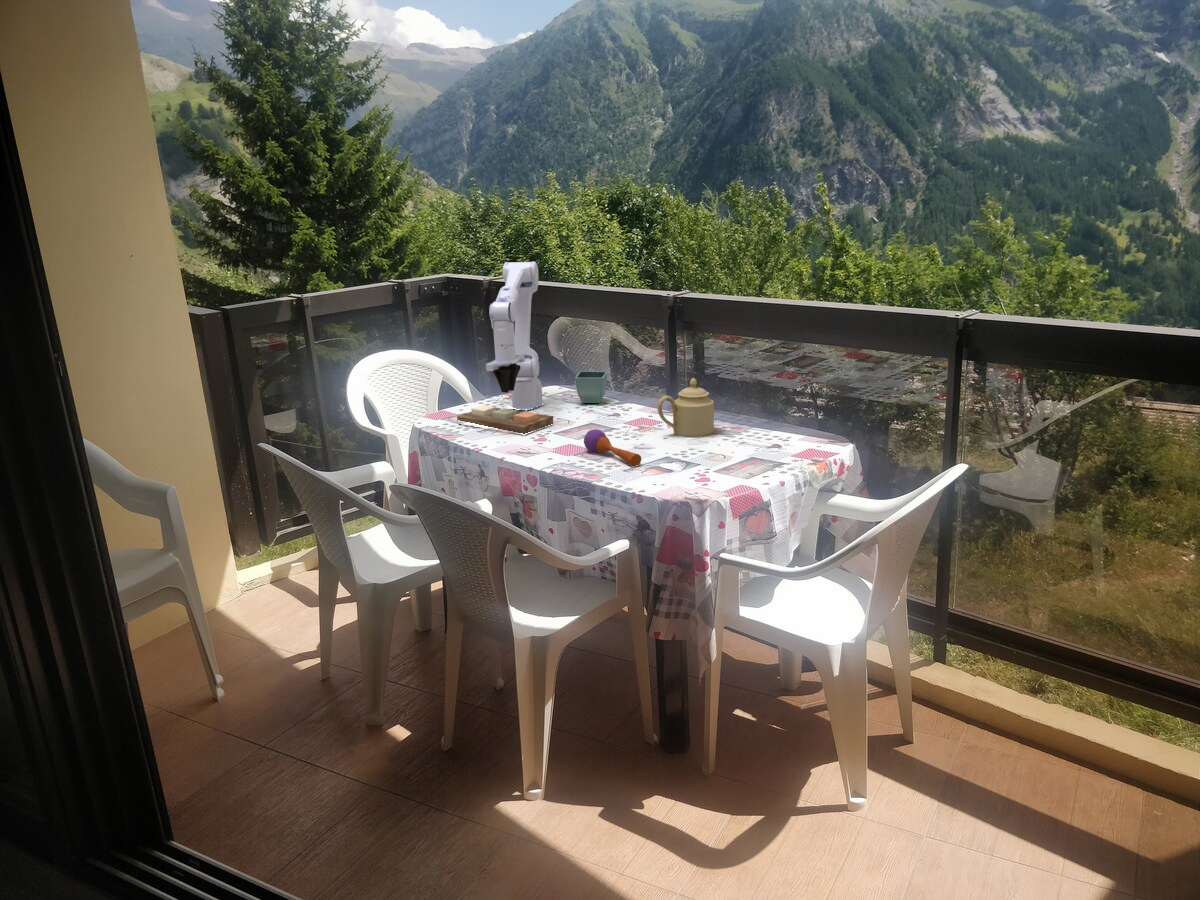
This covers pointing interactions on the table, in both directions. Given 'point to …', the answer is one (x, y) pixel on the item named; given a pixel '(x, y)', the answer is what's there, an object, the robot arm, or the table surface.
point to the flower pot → (591, 386)
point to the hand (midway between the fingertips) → (507, 391)
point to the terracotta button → (526, 417)
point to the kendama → (608, 447)
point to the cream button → (483, 410)
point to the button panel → (507, 422)
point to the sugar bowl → (690, 412)
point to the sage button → (504, 413)
